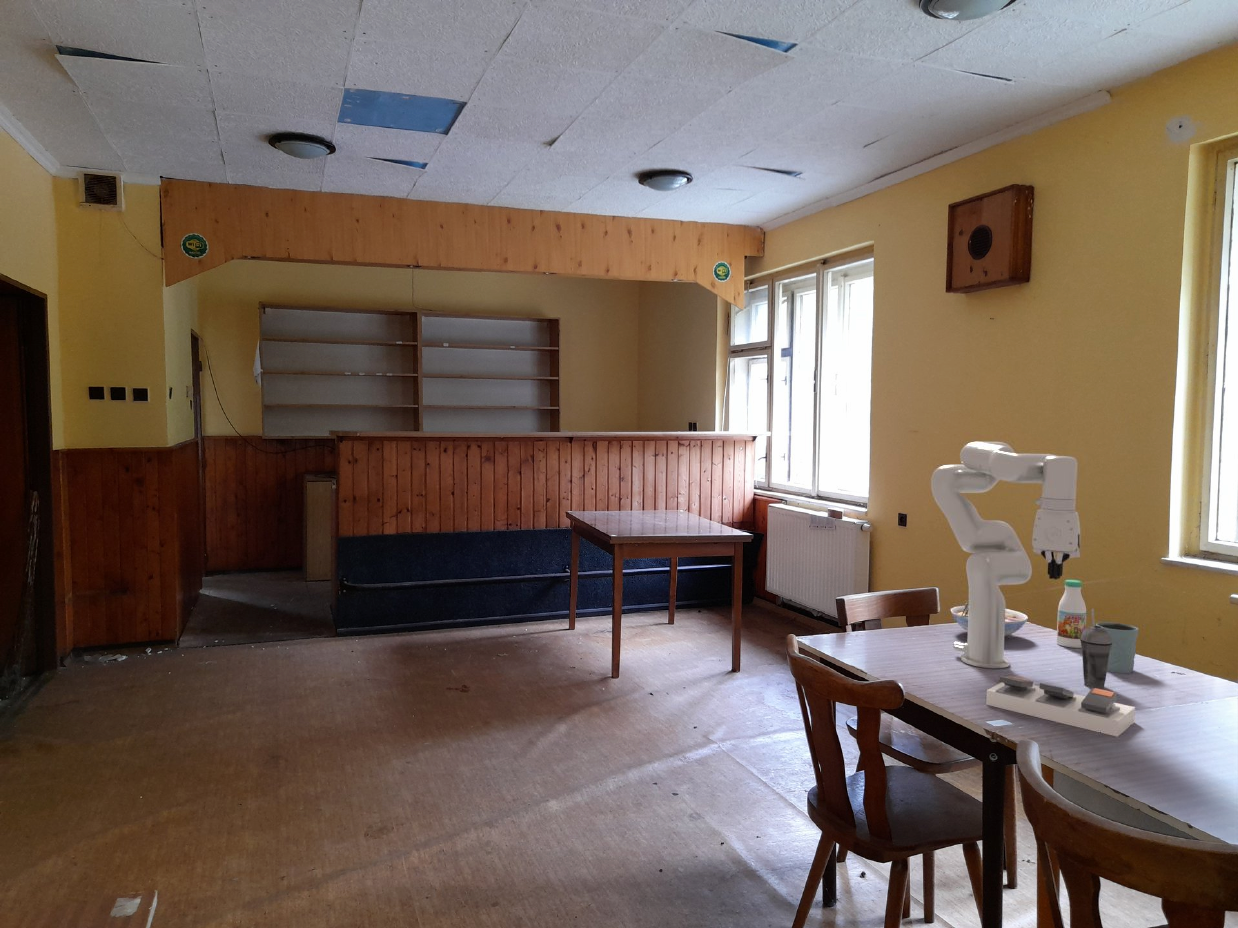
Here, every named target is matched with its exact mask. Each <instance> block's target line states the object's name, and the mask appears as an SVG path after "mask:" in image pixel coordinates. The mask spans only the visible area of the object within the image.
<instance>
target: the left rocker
mask: <svg viewBox="0 0 1238 928" xmlns="http://www.w3.org/2000/svg"><path fill="white" fill-rule="evenodd" d="M998 682H999V683H1004V685H1006V686H1011V687H1015V688H1020V689H1024V690H1027V687H1033V685H1034V681H1033V680H1030V679H1026V678H1021V677H1017V676H999V677H998Z"/></svg>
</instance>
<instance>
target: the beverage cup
mask: <svg viewBox="0 0 1238 928" xmlns="http://www.w3.org/2000/svg"><path fill="white" fill-rule="evenodd" d="M1094 611H1095V610H1094V608H1091V621H1092V625H1091V626H1088V627H1086V629H1085V630H1084V631H1083V633H1082V635H1081V639H1080V641H1081V648H1080V649H1081V652H1082V655H1081V657H1082V671H1083V673H1082V674H1083V682H1084V683H1083V684H1084V686H1085V687H1088V688H1091V689H1092V688H1097V689H1104V688H1105V684H1106V681H1107V680H1106V679H1107V672H1108V671H1107V666H1108V659H1109V652H1110V650H1111V645H1112V639H1111V636H1110V634H1109V633H1108V631H1107V630H1106V629H1104V628H1102V627H1100V626H1096V623H1095V613H1094Z"/></svg>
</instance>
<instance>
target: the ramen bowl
mask: <svg viewBox="0 0 1238 928" xmlns="http://www.w3.org/2000/svg"><path fill="white" fill-rule="evenodd" d="M950 612H951V614H952V617H953V618H954V620H955V621H956V622H957V623H956V624H957V625H959V627H961V628H962V629H964V630H966V631H967V632H968V613H969V600H966V601H965V604H964V605H960V606H954V607H951V608H950ZM1028 619H1029V617H1028V615H1027V614H1026V613H1025V614H1024V613H1023V612H1020V611H1016V610H1012V609H1009V608H1005V633H1004V637H1007V636H1010V635H1013V634H1015V633H1016V632H1018V631H1019V630H1020V629H1021V628H1023V626H1024V625H1025V624H1026V623H1027V621H1028Z"/></svg>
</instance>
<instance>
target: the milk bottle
mask: <svg viewBox="0 0 1238 928" xmlns="http://www.w3.org/2000/svg"><path fill="white" fill-rule="evenodd" d="M1082 585H1083V582H1082V581H1081V580H1078V579H1077V580H1076V579H1066V580H1064V588H1065V590H1064V592H1063V595H1062V597H1061V598H1060V600H1059V604H1058V609H1057V622H1056V624H1057V626H1056V628H1057V629H1056V643H1057V645H1060V646H1062V647H1067V648H1074V649H1082V648H1081V641H1080V639H1081V635H1082V633H1083V631H1084V630H1085V629H1086V628H1087V607H1086V602H1085V600H1084V598H1083V596H1082V591H1081V589H1083V587H1082Z"/></svg>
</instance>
